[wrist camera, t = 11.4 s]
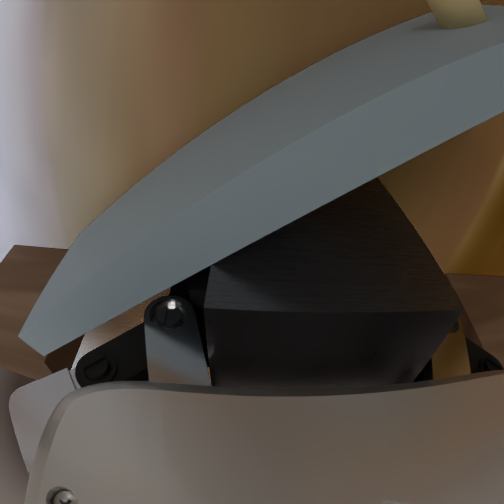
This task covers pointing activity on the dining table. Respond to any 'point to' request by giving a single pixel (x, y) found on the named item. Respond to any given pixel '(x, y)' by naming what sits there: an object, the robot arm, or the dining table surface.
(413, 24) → the grey curved plank
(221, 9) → the dining table surface
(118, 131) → the dining table surface
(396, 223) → the dark grey block
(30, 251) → the pair of brown blocks
